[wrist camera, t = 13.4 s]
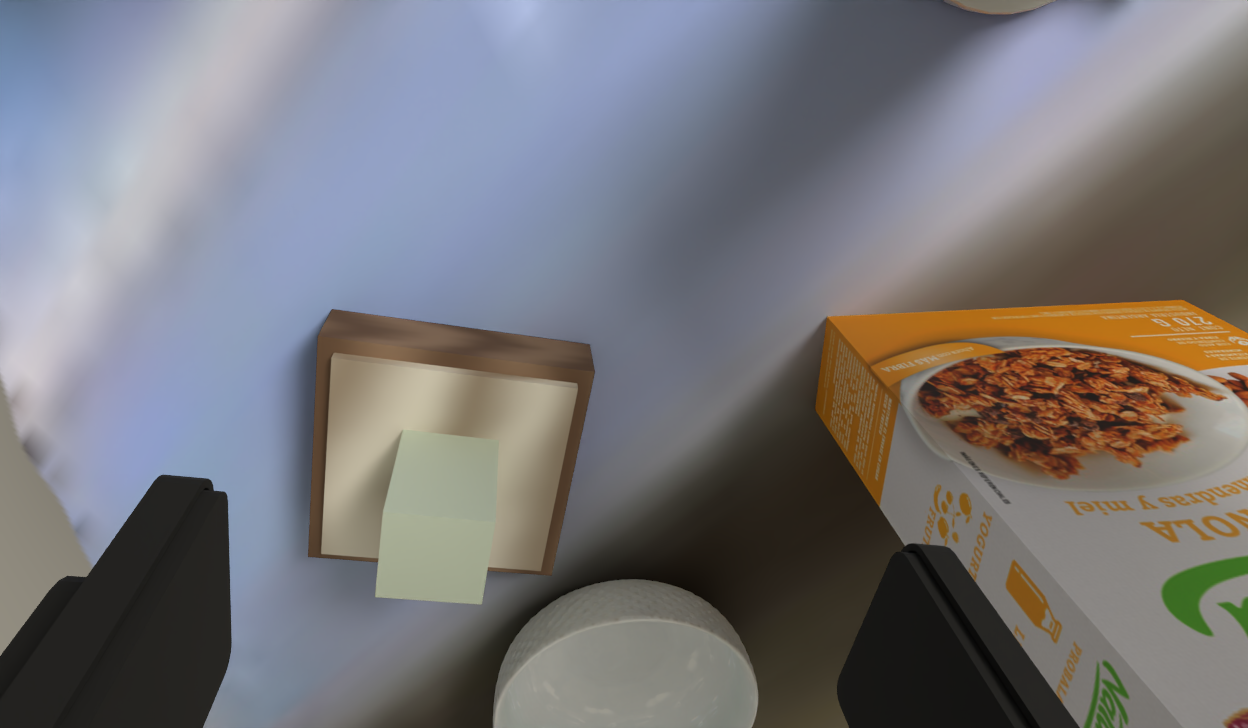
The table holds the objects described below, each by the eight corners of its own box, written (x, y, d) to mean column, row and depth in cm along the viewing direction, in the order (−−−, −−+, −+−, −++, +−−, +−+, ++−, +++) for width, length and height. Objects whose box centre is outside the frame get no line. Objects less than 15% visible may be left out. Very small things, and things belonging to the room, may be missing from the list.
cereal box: (1182, 299, 48) (1988, 712, 22) (1151, 389, 51) (1831, 851, 25) (827, 316, 46) (1247, 801, 20) (814, 409, 49) (1167, 943, 22)
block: (498, 440, 42) (495, 522, 36) (486, 514, 45) (481, 604, 38) (403, 429, 41) (382, 511, 35) (395, 506, 44) (375, 597, 37)
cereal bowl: (578, 503, 50) (586, 581, 44) (779, 594, 56) (813, 674, 49) (451, 678, 55) (442, 769, 49) (646, 744, 61) (661, 834, 55)
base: (589, 344, 45) (595, 377, 41) (549, 539, 51) (551, 582, 47) (331, 309, 42) (315, 341, 39) (321, 519, 48) (305, 563, 45)
